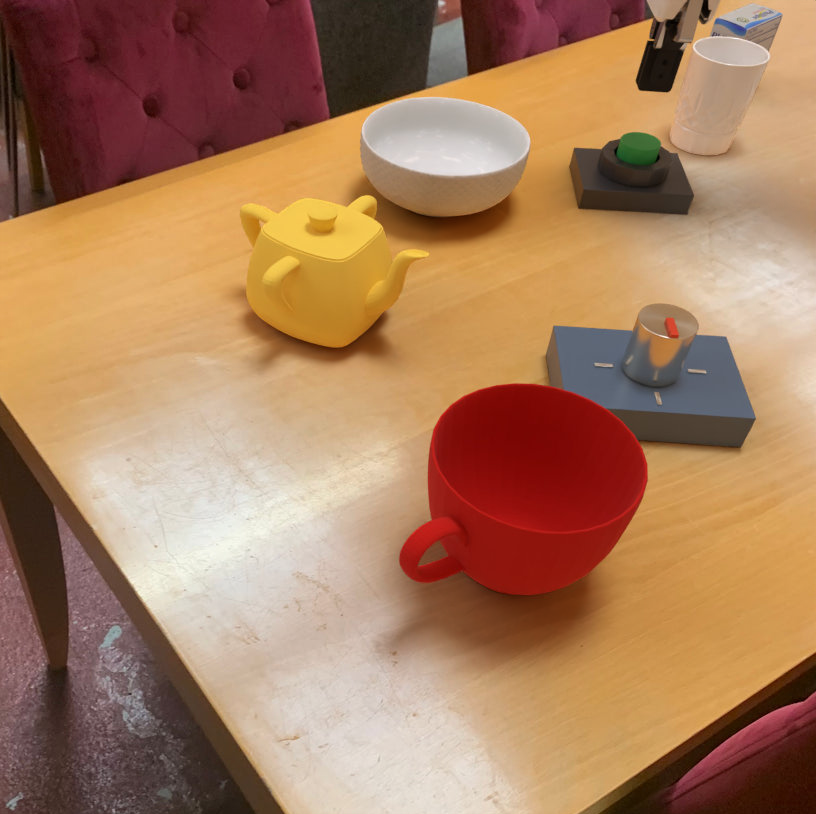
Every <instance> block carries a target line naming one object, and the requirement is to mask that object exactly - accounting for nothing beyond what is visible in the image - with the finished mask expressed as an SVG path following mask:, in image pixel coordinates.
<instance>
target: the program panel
mask: <svg viewBox="0 0 816 814" xmlns="http://www.w3.org/2000/svg"><path fill="white" fill-rule="evenodd" d="M632 331H633V329H632V330H631V329H615V328H602V327H601V328H598V327H585V326H570V325H569V326H567V325H553V326H552V331H551V334H550V337H549V342H548V345H547V348H546V353H545V356H546V357H545V358H546V364H547V370H548V378H549V386H551V387H556V388H559V389H563V390H566V391H570V392H573V393H576V394H578V395H580V396H583V397H585V398H588V399H590V400H592V401H594V402H595V403H597V404H599V405H601V406H602V407H604V408H606V409H607V410H609V411H610V412H611V413H613V414H614V415H615V416H616V417H617V418H619V419H620V420H621V421H622V422H623V423H624V424H625V425H626V426H627V427H628V428H629V429H630V431H631V432H632V433H633V434H634V435H635V437H636V439H637V440H638V441H644V442H645V441H648V442H660V443H673V444H688V445H701V446H702V445H703V446H715V447H717V446H718V447H729V448H730V447H731V448H742V447H743V445H744V443H745V441H746V439H747V437H748V435H749V433H750V432H751V430H752V428H753V425H754V424H755V422H756V420H757V417H756V414H755V412H754V408H753V406H752V403H751V400H750V397H749V394H748V392H747V389H746V386H745V384H744V381H743V379H742V375H741V373H740V370H739V367H738V365H737V362H736V360H735V356H734V354H733V350H732V348H731V346H730V343H729V340H728V338H727V336H722V335H709V334H696V336H695V339H694V341H693V344H692V346H691V348H690V351H689V353H688V356H687V358H686V360H685V363H684V365H683V368H682V370H681V372H680V375H679V377H678V379H677V380H676V381H675V382H674V383H672V384H670V385H668V386H663V387H652V386H647V385H643V384H640V383H638V382H636V381H634V380H632V379H631V378H629V377H628V376H627V375H626V374H625V372H624V371H623V369H622V365H621V363H622V359H623V356H624V353H625V351H626V348H627V345H628V342H629V339H630V336H631V334H632Z"/></svg>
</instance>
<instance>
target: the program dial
mask: <svg viewBox="0 0 816 814" xmlns="http://www.w3.org/2000/svg"><path fill="white" fill-rule="evenodd" d="M636 316H637V317H636V320H635V322H634V324H633V325H634V326H633V328H632V334H631V336H630V339H629V342H628V345H627V348H626V351H625V353H624V356H623V359H622V363H621V365H622V369H623V371H624V372H625V374H626V375H627V376H628V377H629V378H631V379H632V380H634V381H636V382H638V383H640V384H643V385H647V386H652V387H663V386H668V385H670V384H672V383H674V382H675V381H676V380H677V379H678V377H679V375H680V372H681V370H682V368H683V365H684V363H685V360H686V358H687V356H688V353H689V351H690V348H691V346H692V344H693V341H694V339H695V336H696V335H698V332H699V329H700V328H699V327H700V325H699V321H698V320H697V317H696V316H695V315H693V313H691V312H690V311H688V310H687V309H685V308H683V307H681V306H677V305H674V304H670V303H652V304H648V305H645V306H643V307H642V308H641V309H640V310H639V312H638V314H637V315H636Z"/></svg>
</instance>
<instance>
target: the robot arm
mask: <svg viewBox="0 0 816 814" xmlns="http://www.w3.org/2000/svg"><path fill="white" fill-rule="evenodd" d="M721 1H722V0H646V2H647V5H648V7H649V9H650V11H651V13H652V15H653V18H652V22H651V26H650V29H649V34H648V40H647V41H646V44H645V47H644V51H643V54H642V56H641V57H642V58H641V61H640V64H639V66H638V67H639V68H638V70H637V74H636V76H635V77H636V78H635V84H636V86H637V89H638V91H641V92H652V93H653V92H654V93H670V92H671V91H672V89H673V87H674V83H675V80H676V77H677V74H678V72H679V69H680V65H681V62H682V59H683V57H684V54H685V51H686V49H687V46H688V44H692V43H693V40H694V37H695V34H696V30H697V27H698V23H699V22H700V24H701V25H706V24H708V23H710V22H711V21H712V20H713V19H714V17H715V15H716V13H717V11H718V8H719V6H720V3H721Z"/></svg>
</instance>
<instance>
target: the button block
mask: <svg viewBox="0 0 816 814" xmlns="http://www.w3.org/2000/svg"><path fill="white" fill-rule="evenodd" d="M620 139H621V138H617V139H614V140H613V139H612V140H609V141H607V143H605V145H603V146H602V148H589V147H573V150H572V153H571V158H570V162H569V166H568V168H569V171H570V176H571V181H572V185H573V191H574V194H575V199H576V204H577V207H578V209H579V210H593V211H594V210H595V211H612V212H613V211H614V212H629V213H630V212H631V213H647V214H665V215H667V214H668V215H681V216H683V215H684V216H687V215H688V213H689V210H690V208H691V205H692V203H693V199H694V197H695V194H694V192H693V189H692V186H691V184H690V181H689V179H688V176H687V174H686V171H685V168H684V166H683V164H682V160H681V159H680V156H679V154H678V152H670V151H669V150H667V149H666V148H665V147H663V146H662V145H661V146H660V150H659V153H658V156H657V159H656V162H655V163H654V164H649V165H635V164H631V163H628V162H625V161H622V160H621V159H619V158H618V157H617V156H616V153H617V150H618V146H619V143H620Z"/></svg>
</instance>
